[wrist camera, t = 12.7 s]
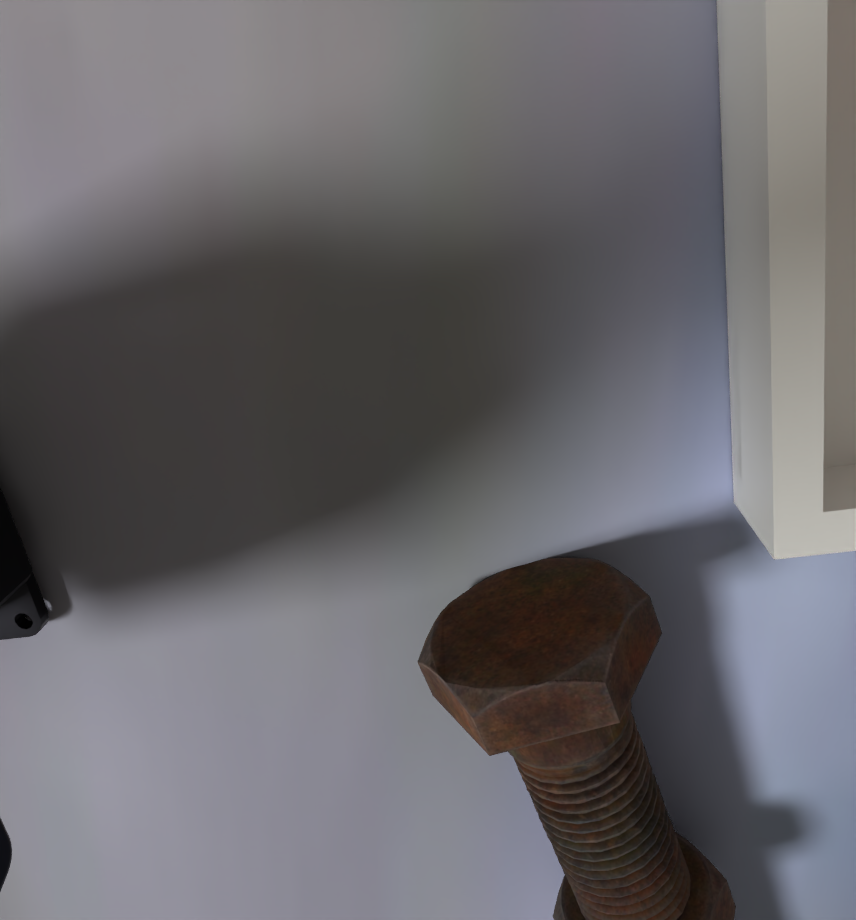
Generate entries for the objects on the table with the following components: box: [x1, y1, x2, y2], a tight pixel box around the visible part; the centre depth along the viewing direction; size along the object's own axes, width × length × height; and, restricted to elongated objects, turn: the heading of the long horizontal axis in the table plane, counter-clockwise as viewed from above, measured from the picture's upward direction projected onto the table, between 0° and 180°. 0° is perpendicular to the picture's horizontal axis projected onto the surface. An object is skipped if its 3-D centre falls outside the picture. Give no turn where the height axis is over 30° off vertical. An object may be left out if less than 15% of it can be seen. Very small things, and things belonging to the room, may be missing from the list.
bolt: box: [418, 558, 736, 920], centre depth 21 cm, size 6×5×15 cm
